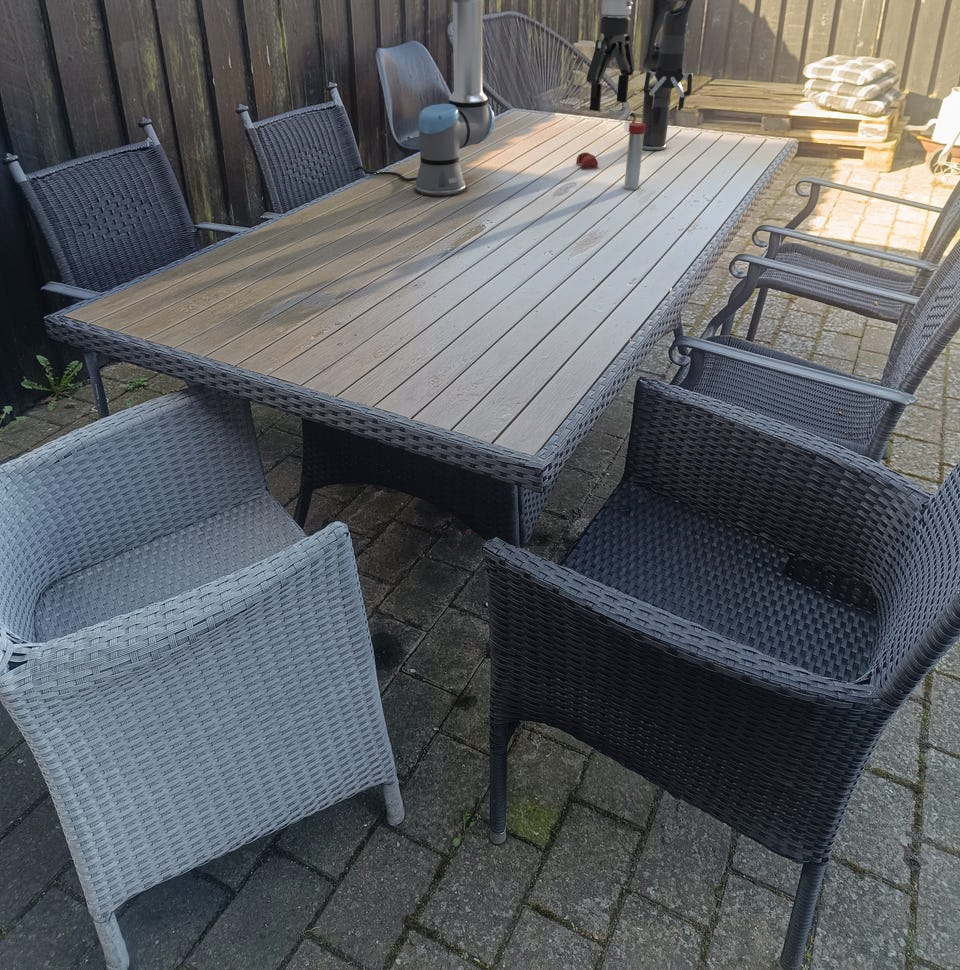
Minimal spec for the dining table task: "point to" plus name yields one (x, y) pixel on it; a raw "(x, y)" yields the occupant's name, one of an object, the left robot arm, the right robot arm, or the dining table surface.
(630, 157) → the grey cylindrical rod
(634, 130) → the lid
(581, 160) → the dental model
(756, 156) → the dining table surface
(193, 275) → the dining table surface
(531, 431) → the dining table surface
